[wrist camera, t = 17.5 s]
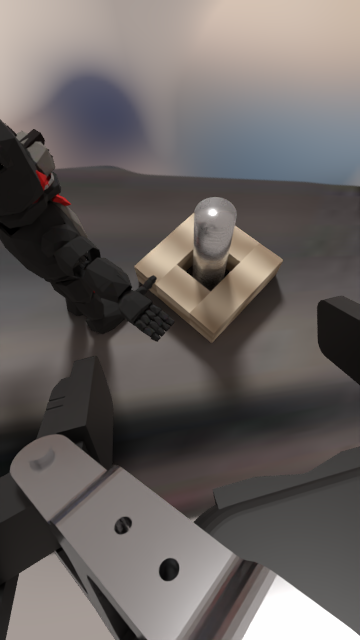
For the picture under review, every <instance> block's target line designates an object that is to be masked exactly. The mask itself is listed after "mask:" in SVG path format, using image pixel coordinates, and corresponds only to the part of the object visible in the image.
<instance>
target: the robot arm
mask: <svg viewBox="0 0 360 640" xmlns="http://www.w3.org/2000/svg"><path fill="white" fill-rule="evenodd" d="M317 324H318V344H319V347H320V350H321V352H322V353H323V354H324V356H325V357H327V358H328V359H329V360H330V361H331V362H333V363H334V364H335V365H336V366H337V367H339V368H340V369H341V370H342V371H344V372H345V373H346V374H347V375H348V376H350V377H351V378H352V379H353V380H354V381H356V382H357V383H358V384H359V385H360V304H358V303H356V302H354V301H352V300H350V299H348V298H346V297H344V296H337V297H333V298H329V299H325V300H321V301H320V302H319V303H318V306H317ZM112 451H113V403H112V398H111V394H110V391H109V388H108V385H107V382H106V379H105V376H104V373H103V370H102V367H101V364H100V361H99V359H98V357H97V356H94V357H90V358H86V359H82V360H77V361H75V362H74V364H73V368H72V372H71V376H70V377H68V378H64V379H61V381H60V382H59V383H58V384H57V385H56V386H55V387H54V389H53V390H52V393H51V396H50V399H49V402H48V405H47V408H46V411H45V414H44V417H43V420H42V424H41V427H40V430H39V433H38V436H37V439H36V440H35V441H33V442H31V443H30V444H28V445H27V446H26V447H24V448H23V449H22V450H21V451H20V452H19V453H18V454H17V455H16V457H15V458H14V460H13V462H12V464H11V467H10V473H8V474H7V475H5V476H3V477H1V478H0V640H6V635H7V630H8V625H9V620H10V615H11V610H12V605H13V600H14V595H15V591H16V586H17V581H18V576H19V573H20V572H22V571H24V570H25V569H27V568H28V567H30V566H31V565H33V564H35V563H36V562H38V561H40V560H41V559H43V558H44V557H46V556H48V555H49V554H51V553H52V552H54V553H55V554H56V555H57V557H58V558H59V560H60V561H61V562H62V564H63V565H64V566H65V568H66V569H67V570H68V572H69V573H70V574H71V576H72V577H73V579H74V580H75V582H76V583H77V584H78V586H79V587H80V588H81V590H82V591H83V592H84V594H85V595H86V597H87V598H88V599H89V601H90V602H91V603H92V605H93V606H94V608H95V609H96V611H97V612H98V614H99V616H100V617H101V619H102V620H103V622H104V624H105V625H106V627H107V628H108V630H109V631H110V633H111V634H112V636H113V637H114V639H115V640H360V447H356V448H353V449H349V450H346V451H343V452H340V453H339V454H337V455H335V456H334V457H332V458H330V459H329V460H327V461H326V462H324V463H322V464H321V465H319V466H318V467H316V468H314V469H313V470H311V471H309V472H307V473H305V474H298V475H280V476H262V477H253V478H250V479H247V480H243V481H240V482H236V483H233V484H229V485H226V486H223V487H219V488H216V489H213V493H214V498H215V503H216V505H214V506H213V507H211V508H209V509H208V510H207V511H205V512H204V513H203V514H202V515H200V516H199V517H198V518H197V519H196V520H195V521H194V522H192V521H191V520H189V519H188V518H187V517H185V516H184V515H183V514H182V513H180V512H179V511H178V510H176V509H175V508H174V507H172V506H171V505H170V504H169V503H167V502H166V501H165V500H163V499H162V498H161V497H159V496H158V495H157V494H155V493H154V492H153V491H152V490H150V489H149V488H148V487H146V486H145V485H144V484H142V483H141V482H140V481H139V480H137V479H136V478H135V477H133V476H132V475H131V474H129V473H128V472H127V471H125V470H124V469H123V468H121V467H120V466H118V465H113V466H112Z"/></svg>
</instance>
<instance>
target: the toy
mask: <svg viewBox="0 0 360 640" xmlns="http://www.w3.org/2000/svg"><path fill="white" fill-rule="evenodd" d="M44 141H45V140H44V138H43V136H42V135H41V133H40V132H38V131H36V130H35V129H33V130H32V131H31V132H30V133H28V134H27V133H25V132H23V131H21V132H20V133H17V134H16V133H15V132H14V131H13V130H12V129H10V128H9V127H8V126H6V125H5V124H4V123H3V122H2V121H1V120H0V240H1V241H2V243H3V244H4V246H5V248H6V249H7V250H8V251H9V252H10V253H11V254H13V255H14V256H15V257H16V258H17V259H18V260H19V261H20V262H21V263H22V264H23V265H24V266H25V267H26V268H27V269H28V270H30V271H32V272H33V273H35V274H36V275H38V276H40V277H41V278H44V279H45V280H46V281H48V282H50V283H51V285H52V286H53V288H54V290H55V291H57V292H58V293H59V294H61V295H62V296H63V297H65V298H66V304H67V309H68V311H70V312H71V313H73V314H75V315H83V314H84V315H85V316H87V317H88V318H87V320H86V322H87V324H88V325H89V327H90V328H91V330H93V331H96V332H99V333H103V334H104V333H106V332H108V331H110V330H112V329H114V328H115V327H116V326H117V325H118V324H119V323H120V322H121V321H122V320H123V319H126V320H128V321H129V322H130V323H132V324H133V325H134V326H136V327H137V328H138V329H139V330H141V331H142V332H143V333H145V334H146V335H148V336H150V337H151V339H152V340H155V341H157V342H158V340H159V339H160V338H161V337H160V336H163V335H164V334H165V332H164V330H165V331H167V330H168V329H169V328H170V326H172V325H173V323H174V320H173V319H172V318H171V317H169V315H168V314H166V313H165V312H163V311H162V309H161V308H159V307H156V306H154V305H153V304H152V301H151V300H149V299H148V298H146V297H145V296H143V295H144V294H145V293H146V292H147V290H149V289H151V288H152V285H153V284H154V283H155V282H156V280H157V277H156V276H154V275H152V276H151V277H149V278H148V280H146V281H145V283H144V284H143V286H140V287H139V288H138V289H137V290H136V291H133V290H131V288H132V286H131V283H130V280H129V277H128V275H127V274H126V273H125V272H123V270H122V269H121V268H119V267H118V266H116V265H115V264H113V263H112V262H110V261H109V260H107V259H106V258H101V257H100V251H99V249H98V248H97V247H96V246H95V245H94V244H93V243H92V242H91V241H90V240H88V239H87V235H86V233H85V231H84V229H83V227H82V225H81V223H80V221H79V219H78V217H77V215H76V214H75V213H74V212H73V211H72V210H71V209H70V208H69V207H68V206H67V205H71V204H70V203H69V202H68V201H67V200H66V198H64V197H62V196H59V193H60V192H61V186H60V184H59V181H58V178H57V175H56V174H55V173H54V172H52V171H53V170H54V169H55V165H54V161H53V158H52V157H53V156H52V155H50V153H49V150H48V149H47V148H46V147H45V146H44ZM87 251H88V253H87ZM86 259H87V261H86ZM151 320H152V321H151ZM167 324H168V325H170V326H168V325H167ZM159 335H160V336H159Z"/></svg>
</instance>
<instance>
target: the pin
mask: <svg viewBox="0 0 360 640" xmlns="http://www.w3.org/2000/svg"><path fill="white" fill-rule="evenodd" d="M236 216H237V213H236V209H235V207H234V206H233V204H232V203H230V202H229V201H228V200H226V199H223V198H219V197H211V198H207V199H205V200H203V201H201V202H200V203H199V204H198V205H197V206H196V208H195V212H194V246H193V278H194V279H195V280H197V281H198V282H199V283H200V284H202V285H203V286H204V287H205V288H207V289H208V290H209V291H210V292H211V291H212V290H213V289H214V288H215V287H216V286H217V285H218V284H219V283H220V282H221V281H222V280H223V279H224V274H225V269H226V265H227V260H228V255H229V250H230V245H231V241H232V236H233V231H234V226H235V222H236Z"/></svg>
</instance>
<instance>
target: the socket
mask: <svg viewBox="0 0 360 640" xmlns="http://www.w3.org/2000/svg"><path fill="white" fill-rule="evenodd" d="M193 246H194V213H193V214H192V215H191V216H190V217H189V218H188V219H186V220H185V221H184V222H183V223H182V224H181V225H180V226H179V227H178V228H176V229H175V230H174V231H173V232H172V233H171V234H170V235H169V236H168V237H166V238H165V239H164V240H163V241H162V242H161V243H160V244H159V245H157V246H156V247H155V248H154V249H153V250H152V251H151V252H150V253H149V254H147V255H146V256H145V257H144V258H143V259H142V260H141V261H140V262H139V263H137V264H136V265H135V266H134V267H135V271H136V274H137V277H138V281H139V282H141V283H142V284H144V283H145V281H146V280H148V278H149V277H151V276H152V275H154V276H156V277H157V280H156V282H155V283H154V284H153V285H152V288H151V289H149V290H150V291H151V292H152V293H153V294H155V295H156V296H157V297H158V298H159V299H160V300H162V301H163V302H164V303H165V304H166V305H167V306H169V307H170V308H171V309H172V310H173V311H174V312H176V313H177V314H178V315H179V316H180V317H182V318H183V319H184V320H185V321H186V322H187V323H189V324H190V325H191V326H192V327H193V328H194V329H196V330H197V331H198V332H199V333H200V334H201V335H203V336H204V337H205V338H206V339H207V340H208V341H210V342H211V343H213V341H214V340H215V339H216V338H217V337H218V336H219V335H220V334H221V333H222V332H223V331H224V330H225V329H226V328H227V327H228V325H229V324H230V323H231V322H232V321H233V320H234V319H235V318H236V317H237V316H238V315H239V314H240V313H241V312H242V310H243V309H244V308H245V307H246V306H247V305H248V304H249V303H250V302H251V301H252V300H253V299H254V298H255V297H256V296H257V294H258V293H259V292H260V291H261V290H262V289H263V288H264V287H265V286H266V285H267V284H268V283H269V282H270V281H271V279H272V278H273V277H274V276H275V275H276V273H277V271H278V269H279V267H280V265H281V263H282V261H283V260H282V259H281V258H280V257H278V256H277V255H275V254H274V253H273V252H271V251H270V250H268V249H267V248H266V247H264V246H263V245H261V244H260V243H259V242H257V241H256V240H254V239H253V238H251V237H250V236H249V235H247V234H246V233H244V232H243V231H242V230H240V229H239V228H237V227H236V226H234V231H233V236H232V241H231V245H230V250H229V255H228V260H227V265H226V269H227V270H228V271H230V273H229V274H228V275H227V276H226V277H225V278H224V279H223V280H222V281H221V282H220V283H219V284H218V285H217V286H216V287H215V288H214V289H213V290H212V291H211V292H210V291H209V290H208V289H207V288H205V287H204V286H203V285H202V284H200V283H199V282H198V281H197V280H195V279H194V278H193V277H192V276H190V275H189V274H188V273H187V272H186V271H187V270H188V269H189V268H190V267H191V266H192V265H193Z"/></svg>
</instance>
